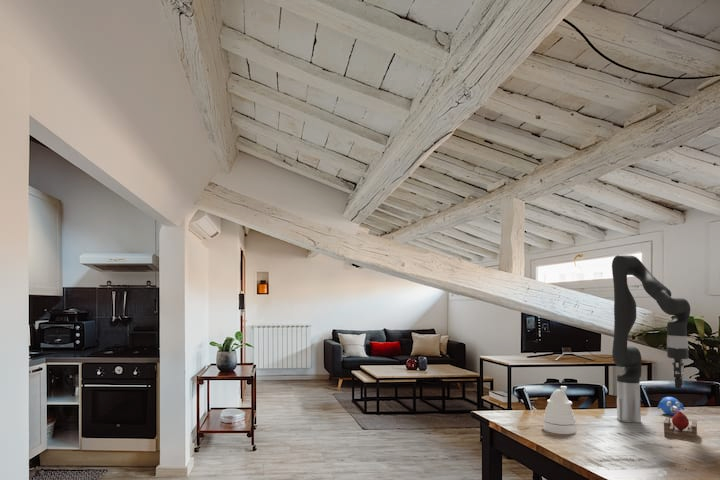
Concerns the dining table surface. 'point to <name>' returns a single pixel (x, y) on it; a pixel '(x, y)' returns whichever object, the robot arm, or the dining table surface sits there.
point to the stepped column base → (684, 434)
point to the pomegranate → (680, 421)
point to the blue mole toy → (670, 405)
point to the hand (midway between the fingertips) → (678, 386)
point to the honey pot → (559, 414)
